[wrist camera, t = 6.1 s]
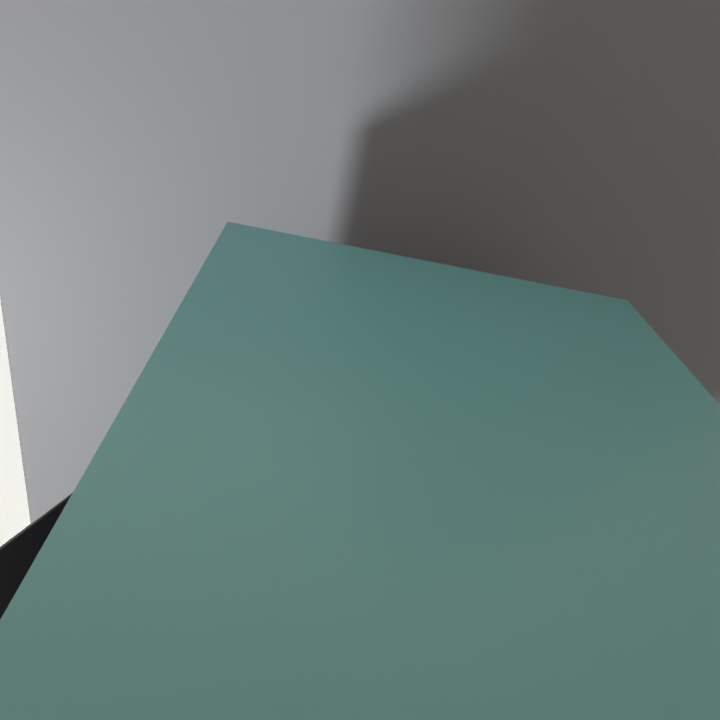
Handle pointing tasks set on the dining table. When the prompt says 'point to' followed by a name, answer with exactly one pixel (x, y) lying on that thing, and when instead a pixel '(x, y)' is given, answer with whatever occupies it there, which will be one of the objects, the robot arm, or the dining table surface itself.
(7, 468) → the dining table surface
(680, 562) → the teal block
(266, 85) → the base board
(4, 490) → the dining table surface
